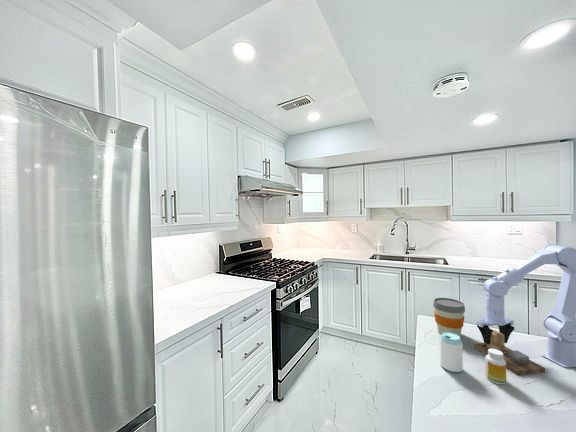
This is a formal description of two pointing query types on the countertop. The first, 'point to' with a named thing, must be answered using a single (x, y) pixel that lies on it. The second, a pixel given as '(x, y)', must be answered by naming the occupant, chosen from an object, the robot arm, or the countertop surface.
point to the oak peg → (496, 341)
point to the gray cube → (518, 358)
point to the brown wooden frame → (510, 365)
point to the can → (451, 352)
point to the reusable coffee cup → (449, 315)
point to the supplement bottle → (495, 366)
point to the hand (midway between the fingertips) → (495, 342)
